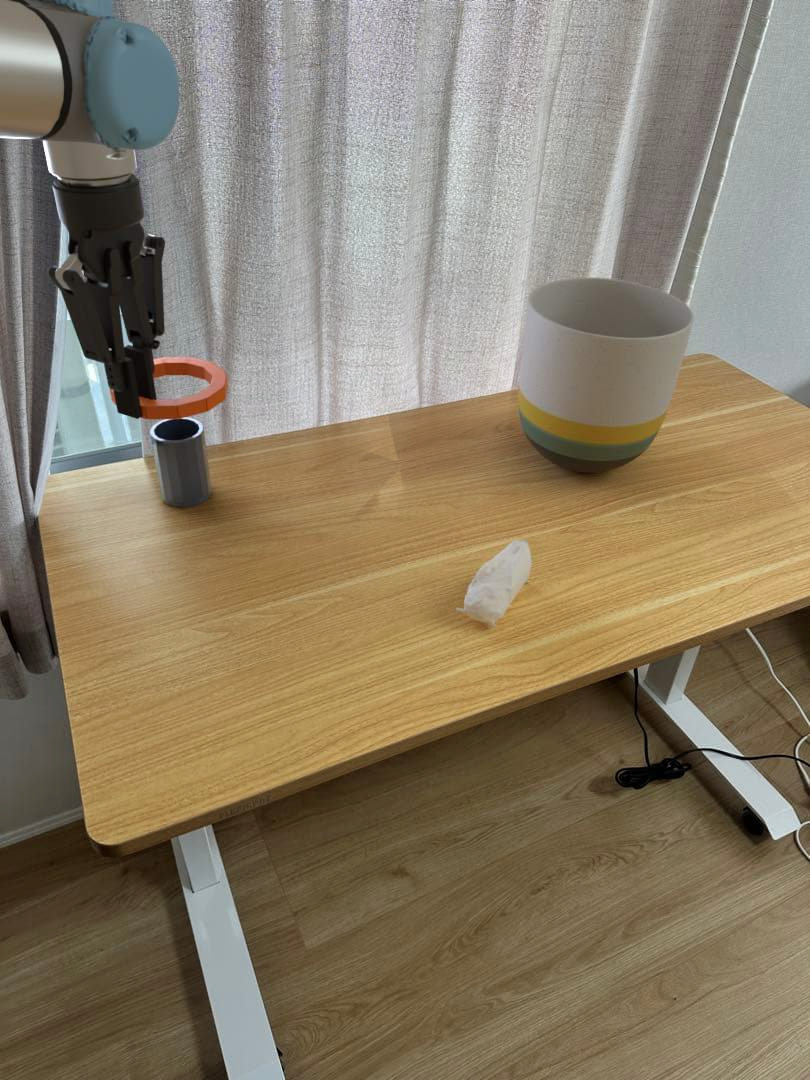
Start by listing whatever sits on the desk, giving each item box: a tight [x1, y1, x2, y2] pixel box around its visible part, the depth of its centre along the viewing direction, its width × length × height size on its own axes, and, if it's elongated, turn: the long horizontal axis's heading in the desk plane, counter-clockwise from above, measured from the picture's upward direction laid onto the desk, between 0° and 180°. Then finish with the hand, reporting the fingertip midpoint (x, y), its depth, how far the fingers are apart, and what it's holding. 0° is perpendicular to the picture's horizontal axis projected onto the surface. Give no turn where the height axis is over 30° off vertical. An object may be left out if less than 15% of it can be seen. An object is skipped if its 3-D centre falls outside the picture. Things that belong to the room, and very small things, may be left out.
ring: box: [108, 356, 229, 420], centre depth 90 cm, size 12×12×2 cm
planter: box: [517, 277, 695, 474], centre depth 103 cm, size 20×20×21 cm
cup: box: [149, 417, 212, 509], centre depth 96 cm, size 6×6×9 cm
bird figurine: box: [455, 537, 533, 628], centre depth 84 cm, size 5×7×10 cm
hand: (138, 409), depth 87 cm, fingers closed on ring, 2 cm apart
